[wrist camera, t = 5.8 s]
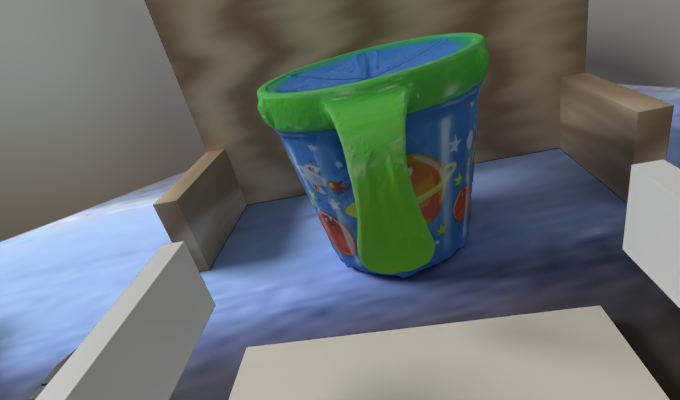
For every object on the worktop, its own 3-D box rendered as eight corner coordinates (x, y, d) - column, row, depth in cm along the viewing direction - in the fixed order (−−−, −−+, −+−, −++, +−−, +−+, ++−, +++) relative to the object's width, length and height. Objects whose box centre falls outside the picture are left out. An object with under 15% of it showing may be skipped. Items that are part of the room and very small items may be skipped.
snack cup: (336, 189, 31) (301, 55, 26) (478, 170, 28) (465, 17, 24) (274, 353, 17) (179, 135, 13) (534, 346, 15) (530, 67, 10)
